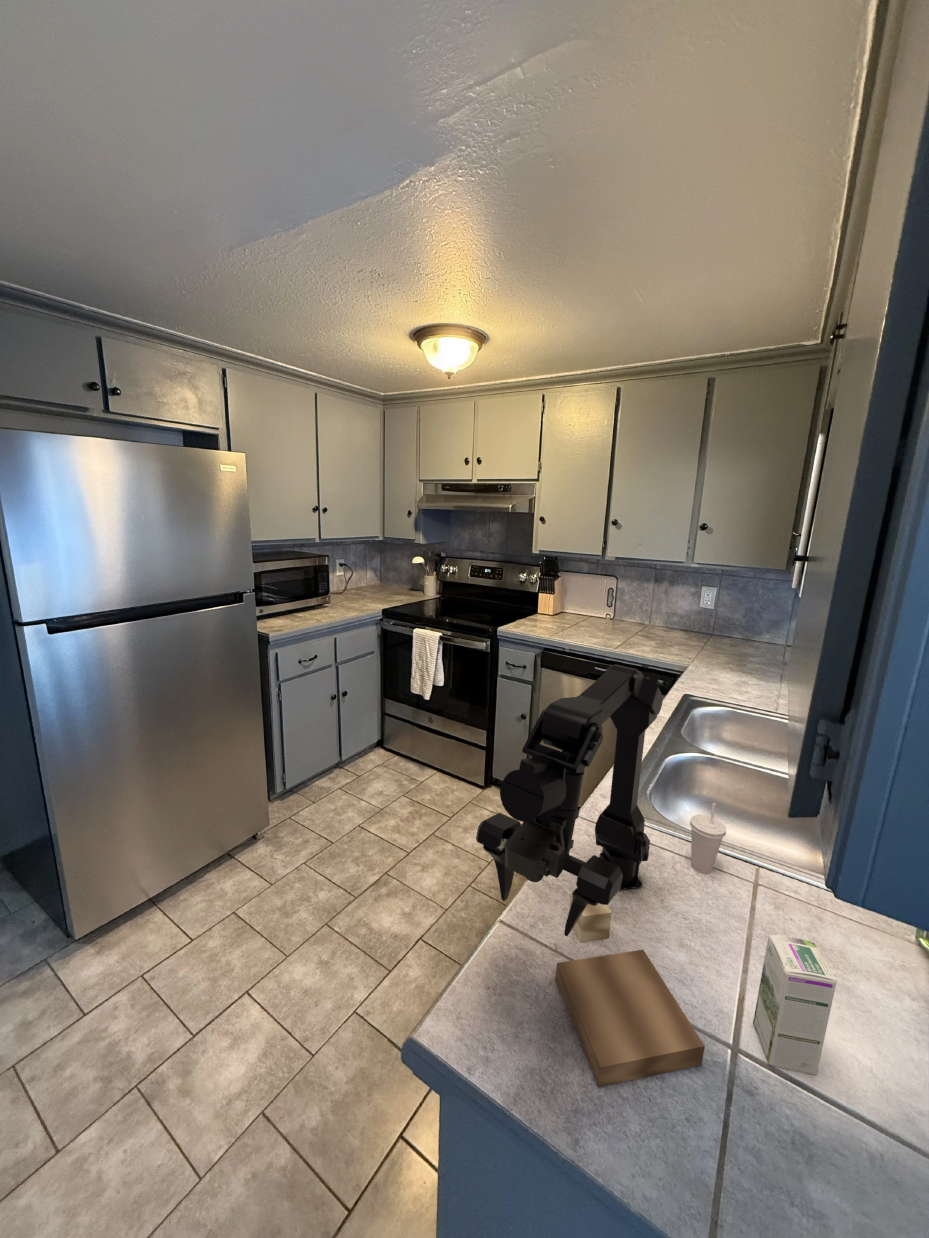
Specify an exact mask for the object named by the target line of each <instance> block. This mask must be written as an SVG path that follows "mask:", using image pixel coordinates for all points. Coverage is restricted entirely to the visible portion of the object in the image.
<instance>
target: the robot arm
mask: <svg viewBox="0 0 929 1238" xmlns="http://www.w3.org/2000/svg"><path fill="white" fill-rule="evenodd" d="M662 706H663V694H662V692H661V690H660V687H659V686H658V685H657V684H655V683H654V682H652V681H651V680H649V679H647V677H645V676H644V674H643V673H642V671H639V670H638V669H637V668H635V667H634V668H632V667H629V666H625V665H619V664H613V665H612V664H609V665H608V666H607V668H606V670H605V673H604V674H602V675H601V676H600V677H599V678H597V679H596V680H595V681H594V682H593V683H592V684H591V685H589V686H588V687H587V688H586V689H585V690H584V691H583V692H581V693H580V694H579V695H577V696H574V697H573V696H571V697H561V698H558V699H557V700H554V701H553V702H550V704H548V705H547V706H546V707H545V708H544V709H543V710H542V711H541V712H540V715H539V717H538V718H537V721H536V722H535V725H534V726H533V728H532V730H531V732H530V733H529V736H528V738H527V740H526V742H525V744H524V745H523V747H522V750H521V753H522V754H526V755H528V756H531V757H530V758H528V757H525V758H521V759H520V762H519V768H516V769H513V770H511V771H509V772H508V773H507V774H506V775H505V777H504V778H503V780H502V781H501V782H500V786H499V796H500V800H501V804H502V806H503V808H504V810H505V812H507V814H508V815H506V814H504V813H502V812H497V813H496V814H494V815H492V816H490V817H488V818H486V819H484V820H482V821H480V823H479V825H478V827H477V830H476V835H475V840H476V842H477V843H478V844H481V845H482V848H483V851H485V852H486V853H488V855H490V857H491V858H492V859H493V861H494V864H495V868H496V874H497V879H498V886H499V893H500V899H501V901H503V902H505V901H507V900H508V898H509V895H510V892H511V890H512V889H511V888H512V885H513V881H514V875H515V873H516V874H518V875H520V876H522V877H524V878H525V879H526V880H528V882H532V883H539V882H541V881H542V880H543V878H544V877H546V878H548V877H549V876H551V877H554V878H555V879H557V878H559V877H560V875H561V874H562V872H563V871H565V872H567V873H569V874H571V875H573V876H575V877H577V878H576V882H575V883H576V884H575V885H576V888H575V889H574V890H573V891H572V892H571V893H572V897H573V901H572V904H571V908H570V911H569V910H568V912H569V914H568V913H567V918H566V922H565V924H564V925H565V926H564V933H563V935H564V937H566V938H567V937H569V935H570V934H571V932H572V931H573V930H574V929H573V927H574V926H575V924H576V922H577V921H578V919H579V917H580V916H581V914H582V913H583V911H584V909H585V908H586V906H587V905H588V904H590V905H592V906H596V905H597V904H598V903H600V904H602V905H608V906H609V905H610V903H611V901H612V900H613V899H614V898H615V897H616V895H617V893H618V892H619V891H620V890H621V891H622V890H628V889H637V888H643V882H642V880H640V877H639V873H640V865H641V864H642V862H648V860H649V857H650V847H651V846H650V844H651V840H650V839H649V837H648V835H647V833H645V823H646V822H645V821H646V820H645V817H644V816H643V813H642V812H641V809H640V808H639V806H638V800H639V799H638V798H639V789H640V781H641V771H642V763H643V754H644V745H645V737H646V730H647V729H648V728H649V727H650V726H651V725H652V724H653V723H654V722H655V721H656V720H657V719H658V715H659V714H660V712H661V709H662ZM609 718H610V721H611V722H612V724H613V727H614V728H615V730H616V734H615V735H616V736H615V737H616V738H615V746H614V758H613V766H612V776H611V787H610V795H609V804H607V806H606V807H605V808H604V809H603V811H602V812H601V813H600V814H599V815H598V817H597V820H596V823H595V827H594V837H595V838H594V839H595V845H596V846H597V847H599V846H600V847H602V849H601V850H602V851H601V852H600V854H599V856H597V855H594V854H593V855H591V857H590V858H589V859H588V860H587V861H583V860H582V859H579V858H578V857H575V856H573V855H571V854H570V851H571V850H572V849H573V848H574V841H575V840H574V839H573V836H574V831H575V830H574V829H575V824H576V820H578V818H579V815H580V812H581V811H580V810H579V809H578V807H579V802H580V798H581V793H582V792H581V791H582V787H583V782H584V777H585V768H586V767H587V768H589V767H590V765H591V763H592V762H593V759H594V758H595V756H596V754H597V752H598V750H599V749H600V746H601V745H602V742H603V741H604V735H603V724H604V723H605V722H606V721H607V720H608V719H609ZM541 743H543V744H544V745H543V744H541ZM554 748H555V749H554ZM521 822H522V824H521Z"/></svg>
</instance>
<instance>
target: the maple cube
mask: <svg viewBox="0 0 929 1238" xmlns="http://www.w3.org/2000/svg"><path fill="white" fill-rule="evenodd" d="M572 901H573V897H572V892H570V893H569V902H568V913H567V915H568V914H569V911H570V908H571V904H572ZM612 914H613V912H612V910H611V909H610V907H609V904H608V905H602V904H600V903H598V904H597V905H596V906H592V905H590V904H588V905H587V906H586V908H585V909H584V911H583V913H582V914H581V916H580V917H579V919H578V921H577V922H576V924H575V926H574V927H573V929H572V930H573V931H574V932H575V934H576V937H577V939H578V941H579V942H580V943H585V942H593V941H598V940H599V941H600V940H606V939H610V931H611V922H612Z"/></svg>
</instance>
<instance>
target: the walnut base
mask: <svg viewBox="0 0 929 1238" xmlns="http://www.w3.org/2000/svg"><path fill="white" fill-rule="evenodd" d="M554 980H555V983H556V985H557V988H558V991H559V993H560V995H561V998H562V1000H563V1003H564V1005H565V1007H566V1010H567V1012H568V1015H569V1017H570V1020H571V1022H572V1024H573V1027H574V1029H575V1032H576V1034H577V1037H578V1039H579V1042H580V1044H581V1047H582V1049H583V1051H584V1054H585V1056H586V1058H587V1062H588V1064H589V1067H590V1069H591V1071H592V1074H593V1077H594V1079H595V1081H596V1084H597V1087H599V1088H600V1087H604V1086H605V1087H606V1086H609V1085H610V1086H611V1085H615V1084H619V1083H623V1082H629V1081H633V1080H637V1079H642V1078H646V1077H647V1078H648V1077H652V1076H657V1075H661V1074H667V1073H670V1072H671V1073H672V1072H676V1071H680V1070H681V1071H682V1070H685V1069H689V1068H694V1067H699V1066H702V1064H703V1058H704V1054H705V1047H706V1046H705V1043H704V1042H703V1041H702V1040H701V1038H700V1036H699V1034H698V1033H697V1031H696V1030H695V1029H694V1027H693V1025H692V1024H691V1022H690V1020H689V1018H688V1017H687V1015H686V1014H685V1012H684V1011H683V1010H682V1008H681V1006H680V1004H679V1003H678V1002H677V999H676V998H675V997H674V995H673V993H672V992H671V991H670V989H669V987H668V986H667V984H666V983H665V981H664V979H663V977H661V975H660V974H659V972H658V970H657V968H656V967H655V965H654V963H653V962H652V960H651V959H650V958H649V956H648V955H647V952H645V950H644V949H638V950H636V949H635V950H632V951H631V950H630V951H624V952H618V953H617V952H616V953H612V954H605V955H604V954H603V955H600V956H598V955H597V956H592V957H586V958H581V959H580V958H579V959H572V960H567V961H561V962H560V961H559V962H556V966H555V976H554Z"/></svg>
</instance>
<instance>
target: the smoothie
mask: <svg viewBox="0 0 929 1238" xmlns="http://www.w3.org/2000/svg"><path fill="white" fill-rule="evenodd" d="M716 805H717V804H716V802H713V803H712V806H711V812H710V815H707V814H695V815H692V816H691V817H690V821H689V827H690V828H691V830H690V832H691V835H690V836H691V837H690V838H691V839H690V840H691V842H690V843H691V851H690V852H691V853H690V854H691V855H690V857H691V858H690V859H691V862H690V863H691V868H692V869H694V870H695V871H696V872H697V873H700V874H705V875H709V874H711V873H712V871H713V868H714V866H715V863H716V860H717V856H718V853H719V850H720V848H721V844H722V842H723V838H724V837H726V835H727V827H726V825H725V824H724V823H723V822H722V821H721V820H719V819H718V818H715V813H716V812H715V811H716Z"/></svg>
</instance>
